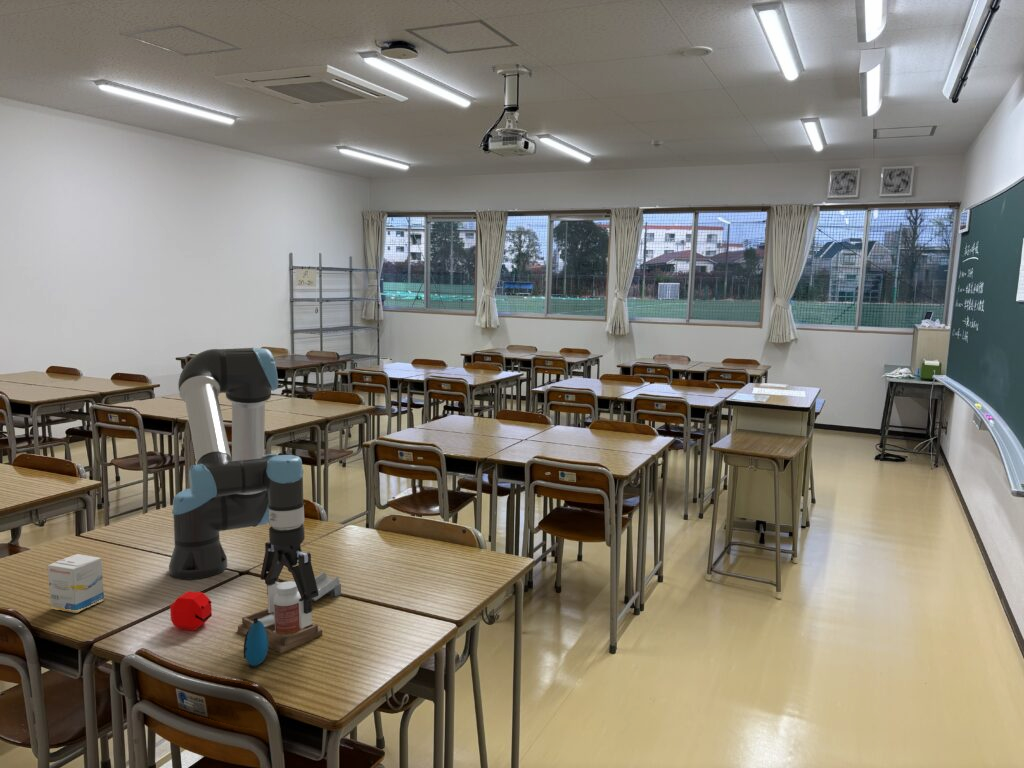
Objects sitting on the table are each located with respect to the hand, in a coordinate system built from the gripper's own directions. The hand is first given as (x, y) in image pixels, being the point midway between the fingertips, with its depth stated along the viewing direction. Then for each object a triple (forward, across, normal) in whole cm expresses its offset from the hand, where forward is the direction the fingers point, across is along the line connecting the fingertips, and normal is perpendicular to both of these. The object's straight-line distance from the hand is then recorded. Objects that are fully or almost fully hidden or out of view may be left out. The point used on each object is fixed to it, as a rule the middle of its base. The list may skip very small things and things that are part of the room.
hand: (289, 618), depth 162 cm
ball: (+5, -23, -11) cm, 26 cm away
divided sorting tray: (+5, -4, 0) cm, 6 cm away
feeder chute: (+5, -13, +18) cm, 23 cm away
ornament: (+5, +4, -11) cm, 13 cm away
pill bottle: (+3, 0, 0) cm, 3 cm away
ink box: (+5, -56, -23) cm, 61 cm away
